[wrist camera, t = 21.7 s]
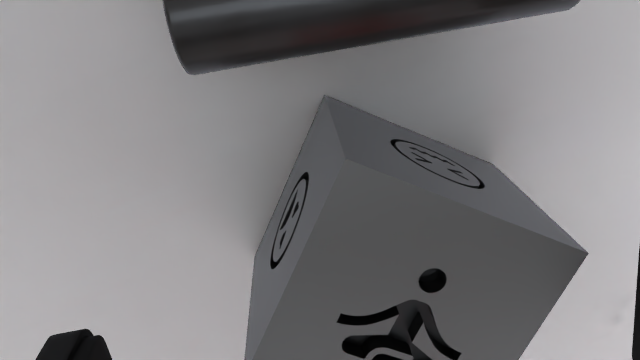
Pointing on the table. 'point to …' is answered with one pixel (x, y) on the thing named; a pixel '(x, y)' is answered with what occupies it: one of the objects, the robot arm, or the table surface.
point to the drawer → (320, 25)
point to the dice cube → (401, 252)
